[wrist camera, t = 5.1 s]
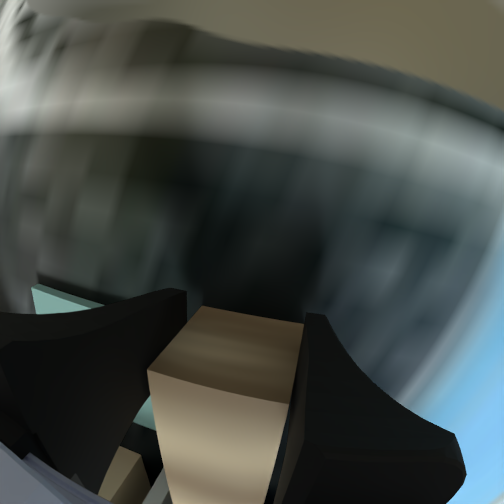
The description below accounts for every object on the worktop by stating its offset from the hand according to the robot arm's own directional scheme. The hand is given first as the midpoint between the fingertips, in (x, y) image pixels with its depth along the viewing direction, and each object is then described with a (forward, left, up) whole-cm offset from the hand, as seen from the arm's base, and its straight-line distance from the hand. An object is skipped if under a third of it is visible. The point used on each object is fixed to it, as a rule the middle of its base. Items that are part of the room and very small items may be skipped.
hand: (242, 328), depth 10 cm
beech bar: (-6, 0, -2) cm, 6 cm away
